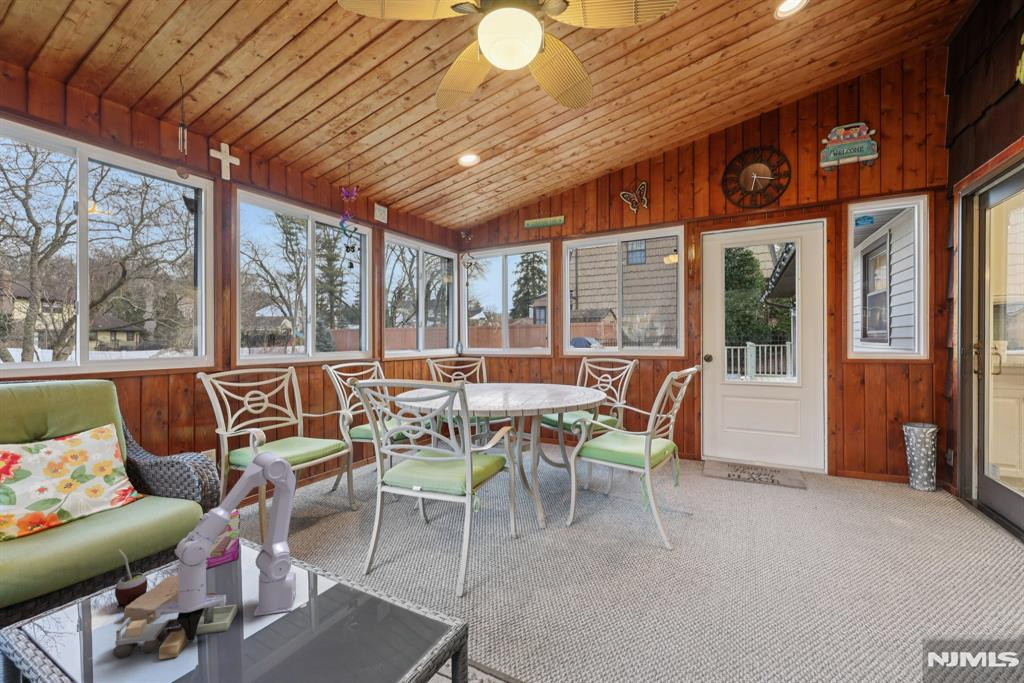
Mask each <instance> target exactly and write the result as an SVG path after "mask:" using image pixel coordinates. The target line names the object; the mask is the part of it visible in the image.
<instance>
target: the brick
mask: <svg viewBox="0 0 1024 683" xmlns="http://www.w3.org/2000/svg"><path fill="white" fill-rule="evenodd" d="M174 601H178V574H177V575H176V574H175V575H172V574H170V575H169V576H167V577H165V578H164V579H162V580H161V581H160V582H159V583H158V584H157V585H155V586H154V587H153V588H151V589H150V590H148V591H146V593H145V594H143V595H142V596H140V597H139V598H137V599H135V600H134V601H133V602H131V603H130V604H129V605H127V606H126V607H124V611H123V612H124V613H123V622H124V621H125V620H126V619H127V618H130V617H131V622H132V621H139V620H147V625H149V624H154V622H156V621H157V620H158V619H160V618H161V617H156V609H157V608H158V606H159V605H164V604H168V603H171V602H174Z"/></svg>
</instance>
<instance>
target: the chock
mask: <svg viewBox="0 0 1024 683" xmlns="http://www.w3.org/2000/svg"><path fill="white" fill-rule="evenodd" d="M165 638H166V639H164V640H163V642H162V643H161V644H160V645H159V652H158V654H159V657H158V660H163V659H172V658H177V657H178V656H179V654H180V652H181V651H182V650H183V648H184V647H185V646H186V644H187V643H188V640H187V636H186V633H185V631H183V630H182V631H177V632H171V633H170V634H169V636H166V637H165Z"/></svg>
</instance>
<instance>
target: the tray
mask: <svg viewBox="0 0 1024 683" xmlns="http://www.w3.org/2000/svg"><path fill="white" fill-rule="evenodd" d="M237 613H238V604H237V603H236V604H228V605H227V604H226V605H224V606H223V607H220V606H214V621H213V622H212V623H210V624H204V611H203V613H202V615H201V618H200V620H199V623H198V627H197V631H196V636H199V635H206V634H214V633H220V632H225V631H226V632H227V631H228V630H229V629H230V626H231V625H232V623H233V620H234V619H235V617H236V614H237ZM182 631H184V629H182Z"/></svg>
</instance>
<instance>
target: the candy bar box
mask: <svg viewBox="0 0 1024 683" xmlns="http://www.w3.org/2000/svg"><path fill="white" fill-rule="evenodd" d="M202 519H203V518H202V516H201V517H198V524H199V523H200V522H201V520H202ZM240 525H241V513H240V511H239V510H238V509H237V508H235V509H234V510H233V511H232V512H231V514H230V522H229V523H228V524H227V526H226V527H225V528H224V529H223V531H222V532H221V533H220V534H219V536H218V537H217V538H216V539H215V541H214V542H213V543H212V545H211V546H210V553H209V555H208V557H206V570H207V569H210V568H214V567H217V566H220V565H224V564H227V563H232V562H234V561H237V560H239V558H240V533H241V532H240V528H241V527H240Z"/></svg>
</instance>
